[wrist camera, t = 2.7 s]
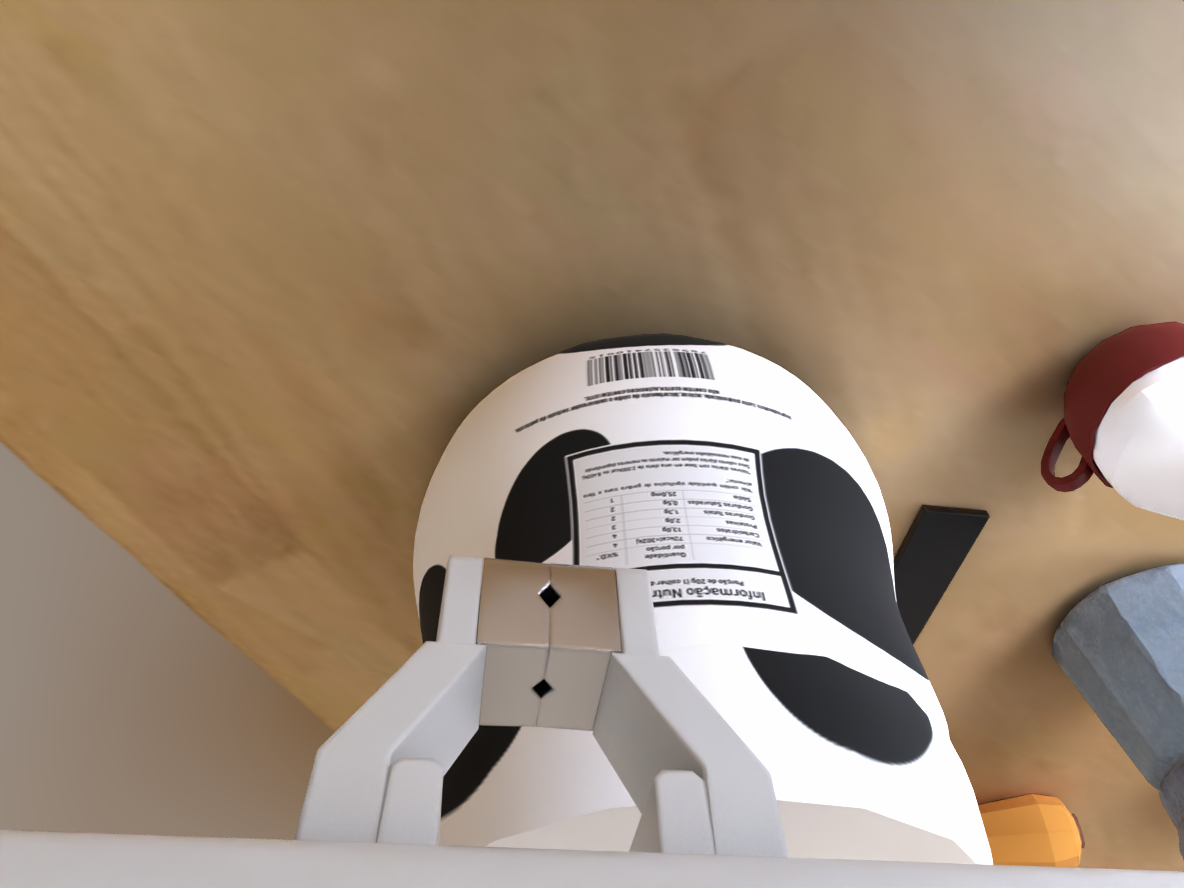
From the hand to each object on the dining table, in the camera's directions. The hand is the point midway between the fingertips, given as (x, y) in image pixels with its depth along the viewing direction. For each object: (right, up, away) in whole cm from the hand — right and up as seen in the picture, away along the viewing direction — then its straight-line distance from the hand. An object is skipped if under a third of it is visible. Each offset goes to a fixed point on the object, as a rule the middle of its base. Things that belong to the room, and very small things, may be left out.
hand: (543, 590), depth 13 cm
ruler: (+15, -11, +32) cm, 37 cm away
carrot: (+21, -22, +41) cm, 51 cm away
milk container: (+3, +1, +22) cm, 23 cm away
